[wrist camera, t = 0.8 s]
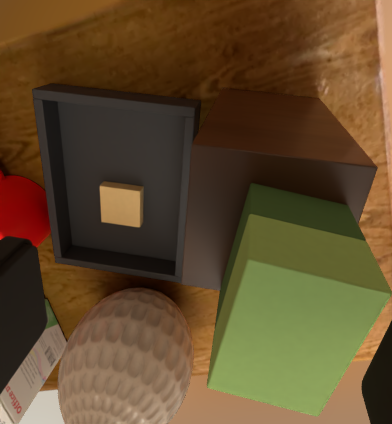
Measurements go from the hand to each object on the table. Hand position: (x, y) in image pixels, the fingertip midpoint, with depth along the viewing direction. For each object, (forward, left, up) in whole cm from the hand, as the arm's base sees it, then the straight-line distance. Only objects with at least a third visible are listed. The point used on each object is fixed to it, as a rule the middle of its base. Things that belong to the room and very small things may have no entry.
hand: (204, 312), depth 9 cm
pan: (+8, -10, -24) cm, 27 cm away
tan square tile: (+10, -10, -24) cm, 27 cm away
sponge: (+3, +3, -8) cm, 9 cm away
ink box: (+30, -22, -24) cm, 44 cm away
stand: (+2, +2, -24) cm, 24 cm away
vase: (+24, -8, -24) cm, 35 cm away
